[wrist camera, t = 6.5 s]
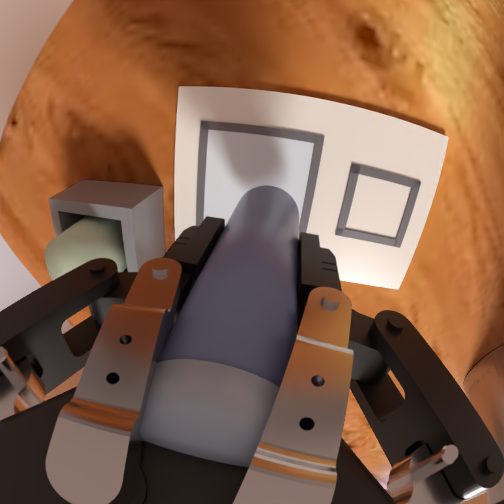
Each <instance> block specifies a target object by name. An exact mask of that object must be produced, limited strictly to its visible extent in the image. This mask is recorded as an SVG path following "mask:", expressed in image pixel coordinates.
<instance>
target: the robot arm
mask: <svg viewBox="0 0 504 504" xmlns="http://www.w3.org/2000/svg"><path fill="white" fill-rule="evenodd" d="M224 228H225V219H222V218H216V217H210V216H206V218H205V219H204V220H203V222H202V223H201V224H200V226H191V227H189V228H187V229H185V230H183V232H182V233H181V234H180V235H179V238H177V239H176V241H175V243H173V244H172V246H171V247H170V248H169V249H168V251H167V252H166V253H165V255H164V256H163V257H162V258H155V259H151V260H149V261H147V262H145V263H144V264H143V265H142V266H141V267H140V269H139V272H118V267H117V264H116V262H115V261H113V260H112V259H108V258H96V259H93V260H90V261H88V262H86V263H84V264H82V265H80V266H78V267H77V268H75V269H73V270H71V271H69V272H67V273H65V274H64V275H62V276H60V277H58V278H56V279H55V280H53V281H51V282H49V283H48V284H46V285H44V286H42V287H41V288H39V289H37V290H35V291H34V292H32V293H30V294H29V295H27V296H25V297H23V298H22V299H20V300H18V301H17V302H15V303H14V304H12V305H10V306H9V307H7V308H6V309H4V310H2V311H1V312H0V504H460V503H461V502H462V501H465V500H467V499H469V498H472V497H474V496H476V495H478V494H480V493H482V492H484V491H486V490H487V495H488V504H504V345H502V346H500V347H499V348H497V349H495V350H494V351H492V352H491V353H489V354H488V355H487V356H485V357H484V358H483V359H482V360H481V361H479V362H478V363H477V364H476V365H475V366H474V367H473V368H472V370H471V371H470V372H469V373H468V375H467V376H466V378H465V380H464V383H463V387H464V390H465V393H466V395H465V393H464V392H463V390H462V389H461V388H460V386H459V385H458V383H457V382H456V381H455V379H454V378H453V376H452V375H451V374H450V372H449V371H448V370H447V368H446V367H445V366H444V364H443V363H442V362H441V360H440V359H439V358H438V356H437V355H436V354H435V352H434V351H433V350H432V348H431V347H430V346H429V345H428V343H427V342H426V341H425V340H424V338H423V337H422V336H421V335H420V333H419V332H418V331H417V330H416V328H415V327H414V326H413V325H412V323H411V322H410V321H409V320H408V319H407V318H406V317H405V316H403V315H402V314H400V313H398V312H395V311H390V310H384V311H381V312H379V313H378V314H377V315H376V317H375V319H373V318H371V317H368V316H365V315H363V314H360V313H358V312H356V311H355V310H353V309H352V303H351V301H350V299H349V298H348V296H347V295H346V294H344V293H343V292H342V290H341V284H340V278H339V273H338V268H337V262H336V257H335V255H334V254H333V253H332V252H331V251H330V249H327V248H322V247H320V242H319V235H316V234H310V233H305V232H301V233H300V236H299V252H298V296H297V299H298V308H297V332H296V340H295V343H294V346H293V349H292V352H291V355H290V358H289V361H288V364H287V367H286V370H285V373H284V376H283V379H282V382H281V385H280V388H279V391H278V394H277V396H276V399H275V402H274V405H273V407H272V410H271V413H270V415H269V418H268V421H267V423H266V426H265V429H264V431H263V434H262V436H261V439H260V441H259V444H258V446H257V449H256V451H255V454H254V456H253V458H252V461H251V463H250V465H249V467H243V466H237V465H232V464H226V463H221V462H217V461H212V460H208V459H203V458H199V457H195V456H192V455H188V454H184V453H181V452H177V451H174V450H171V449H167V448H164V447H161V446H158V445H155V444H152V443H149V442H147V441H144V439H143V437H142V436H141V434H140V430H141V425H142V421H143V417H144V412H145V408H146V404H147V400H148V396H149V392H150V388H151V385H152V381H153V377H154V374H155V370H156V367H157V363H158V362H159V358H160V355H161V353H162V352H163V351H164V348H165V345H166V343H167V340H168V337H169V334H170V332H171V330H172V327H173V325H174V323H175V321H176V319H177V317H178V315H179V313H180V311H181V309H182V307H183V305H184V303H185V301H186V299H187V298H188V296H189V294H190V292H191V290H192V288H193V286H194V284H195V282H196V280H197V278H198V276H199V274H200V272H201V271H202V269H203V267H204V265H205V263H206V261H207V259H208V257H209V255H210V254H211V252H212V250H213V248H214V246H215V244H216V242H217V241H218V239H219V237H220V235H221V233H222V231H223V230H224ZM87 306H89V309H90V312H91V315H92V316H90V317H89V318H87V319H86V320H84V321H83V322H81V323H79V324H78V325H76V326H75V327H73V328H72V329H70V330H69V331H68V332H66V333H65V334H62V332H61V327H62V324H63V322H64V321H65V320H66V319H68V318H69V317H71V316H72V315H74V314H76V313H77V312H79V311H80V310H82V309H83V308H85V307H87ZM84 366H85V367H84ZM83 367H84V370H83V372H82V375H81V377H80V380H79V383H78V386H77V387H75V388H73V389H70V390H68V391H66V392H64V393H62V394H60V395H57V396H55V397H53V398H51V399H48V400H46V401H45V400H44V399H45V395H46V394H47V393H49V392H50V391H51V390H53V389H54V388H56V387H57V386H58V385H60V384H61V383H63V382H64V381H65V380H67V379H68V378H69V377H71V376H72V375H73V374H75V373H76V372H77V371H79V370H80V369H82V368H83ZM390 369H391V371H392V372H393V374H394V375H395V377H396V378H397V380H398V381H399V383H400V384H401V386H402V388H403V389H404V392H405V400H404V398H403V397H402V395H401V393H400V392H399V390H398V389H397V387H396V386H395V384H394V382H393V381H392V379H391V378H390V376H389V375H388V372H389V371H390ZM349 389H351V391H352V393H353V395H354V397H355V398H356V400H357V402H358V404H359V406H360V408H361V410H362V411H363V413H364V415H365V417H366V419H367V421H368V423H369V424H370V426H371V428H372V430H373V432H374V434H375V436H376V438H377V439H378V441H379V443H380V445H381V447H382V449H383V451H384V453H385V455H386V456H387V458H388V460H389V462H390V464H391V466H392V469H391V471H390V475H389V481H388V483H387V488H388V490H389V491H390V492H392V497H391V496H390V495H389V494H388V493H387V492H386V490H385V489H384V488H383V487H382V486H381V485H380V483H379V482H378V481H377V480H376V479H375V477H374V476H373V475H372V474H371V473H370V472H369V470H368V469H367V468H366V467H365V466H364V464H363V463H362V462H361V461H360V459H359V458H358V457H357V456H356V455H355V453H354V452H353V451H352V450H351V448H350V447H349V446H348V445H347V443H346V442H345V441H344V440H343V438H342V432H343V426H344V421H345V415H346V409H347V403H348V396H349Z"/></svg>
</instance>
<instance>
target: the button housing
mask: <svg viewBox="0 0 504 504" xmlns="http://www.w3.org/2000/svg"><path fill="white" fill-rule="evenodd" d="M49 203H50V209H51V215H52V220H53V225H54V230H55V234H56V237H57V236H59V235H60V234H61V233H63V232H64V231H65V230H67V229H68V228H69V227H71V226H72V225H74V224H75V223H76V222H78V221H79V220H81V219H82V218H84V217H85V216H86V215H89V216H95V217H102V218H108V219H115V220H121V225H122V234H123V242H124V249H125V256H126V263H127V268H126V269H125V270H124V271H123V272H139V269H140V267H141V266H142V265H143V264H144V263H145V262H147V261H149V260H151V259H155V258H162V257H163V256H164V255H165V240H164V215H163V186H155V185H145V184H134V183H123V182H111V181H97V180H83V181H81V182H79V183H77V184H75V185H73V186H71V187H69V188H67V189H65V190H63V191H62V192H60V193H58V194H56V195H54V196H53V197H51V198H49Z"/></svg>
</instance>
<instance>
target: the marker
mask: <svg viewBox="0 0 504 504" xmlns="http://www.w3.org/2000/svg"><path fill="white" fill-rule="evenodd" d="M298 252H299V211H298V207H297V204H296V202H295V201H294V199H293V198H292V197H291V195H289V194H288V193H287V192H286V191H284V190H282V189H281V188H278V187H275V186H269V185H264V186H258V187H255V188H252V189H251V190H249V191H247V192H246V193H245V194H244V195H243V196H242V198H241V199H240V201H239V202H238V204H237V206H236V208H235V210H234V211H233V213H232V215H231V217H230V219H229V220H228V222H227V224H226V226H225V228H224V230H223V231H222V233H221V235H220V237H219V239H218V241H217V242H216V244H215V246H214V248H213V250H212V252H211V254H210V255H209V257H208V259H207V261H206V263H205V265H204V267H203V269H202V271H201V272H200V274H199V276H198V278H197V280H196V282H195V284H194V286H193V288H192V290H191V292H190V294H189V296H188V298H187V299H186V301H185V303H184V305H183V307H182V309H181V311H180V313H179V315H178V317H177V319H176V321H175V323H174V325H173V327H172V330H171V332H170V334H169V337H168V340H167V343H166V345H165V348H164V351H163V352H162V353H161V355H160V358H159V362H158V363H157V367H156V370H155V374H154V377H153V381H152V385H151V388H150V392H149V396H148V400H147V404H146V408H145V412H144V417H143V421H142V425H141V430H140V434H141V436H142V437H143V439H144V441H147V442H149V443H152V444H155V445H158V446H161V447H164V448H167V449H171V450H174V451H177V452H181V453H184V454H188V455H192V456H195V457H199V458H203V459H208V460H212V461H217V462H221V463H226V464H232V465H237V466H243V467H249V465H250V463H251V461H252V458H253V456H254V454H255V451H256V449H257V446H258V444H259V441H260V439H261V436H262V434H263V431H264V429H265V426H266V423H267V421H268V418H269V415H270V413H271V410H272V407H273V405H274V402H275V399H276V396H277V394H278V391H279V388H280V385H281V382H282V379H283V376H284V373H285V370H286V367H287V364H288V361H289V358H290V355H291V352H292V349H293V346H294V343H295V340H296V332H297V308H298V299H297V296H298Z"/></svg>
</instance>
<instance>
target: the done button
mask: <svg viewBox="0 0 504 504" xmlns="http://www.w3.org/2000/svg"><path fill="white" fill-rule="evenodd" d="M96 258H108V259H112V260H113V261H115V262H116V264H117V267H118V272H123V271H124V270H125V269H126V268H127V263H126V256H125V249H124V242H123V234H122V225H121V220H115V219H108V218H102V217H95V216H89V215H86V216H85V217H84V218H82V219H81V220H79V221H78V222H76V223H75V224H74V225H72V226H71V227H69V228H68V229H67V230H65V231H64V232H63V233H61V234H60V235H59V236H57V237H56V238H55V239H53V240H52V241H51V242H49V243H48V245H47V246H46V249H45V263H46V267H47V270H48V272H49V275H50V277H51V279H52V280H55V279H56V278H58V277H60V276H62V275H64V274H65V273H67V272H69V271H71V270H73V269H75V268H77V267H78V266H80V265H82V264H84V263H86V262H88V261H90V260H93V259H96Z"/></svg>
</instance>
